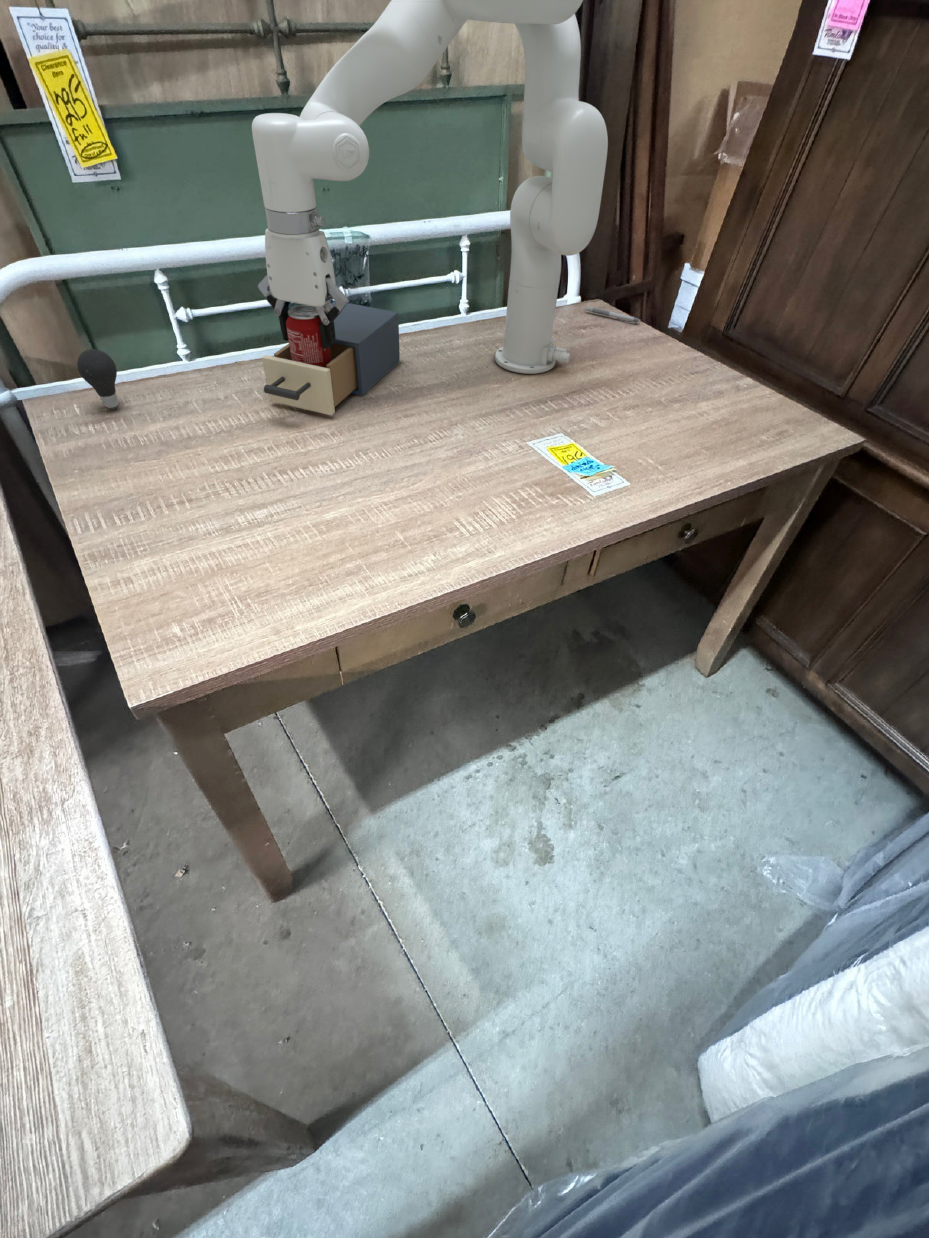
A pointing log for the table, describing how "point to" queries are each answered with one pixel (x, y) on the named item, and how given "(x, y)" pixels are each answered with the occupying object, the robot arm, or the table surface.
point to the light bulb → (99, 375)
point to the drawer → (311, 379)
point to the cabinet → (369, 341)
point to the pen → (614, 315)
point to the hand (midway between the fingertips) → (309, 341)
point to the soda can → (306, 336)
